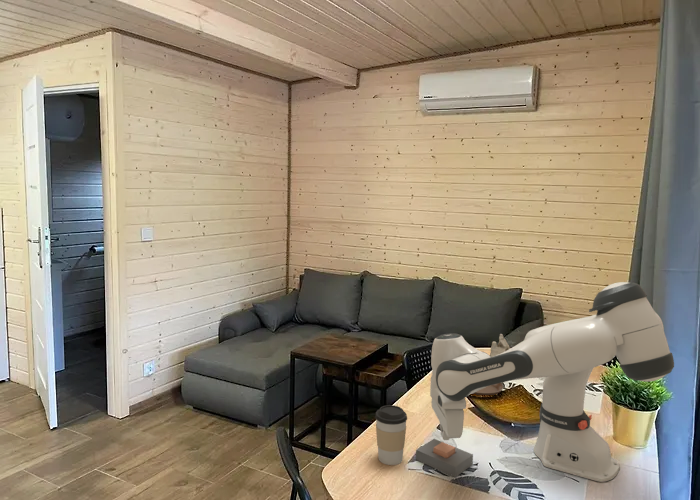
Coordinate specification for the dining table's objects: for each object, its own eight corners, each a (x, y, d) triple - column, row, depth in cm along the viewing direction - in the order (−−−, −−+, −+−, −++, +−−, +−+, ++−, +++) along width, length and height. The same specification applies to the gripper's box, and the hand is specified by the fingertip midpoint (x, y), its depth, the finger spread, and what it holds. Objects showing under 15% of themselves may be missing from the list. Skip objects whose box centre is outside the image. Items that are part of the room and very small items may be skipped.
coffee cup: (386, 447, 154) (387, 399, 152) (412, 457, 148) (413, 407, 146) (368, 459, 147) (368, 409, 145) (394, 470, 141) (395, 418, 139)
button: (455, 458, 146) (455, 447, 145) (446, 464, 142) (446, 453, 142) (441, 452, 149) (442, 441, 148) (433, 458, 145) (433, 447, 145)
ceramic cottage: (479, 370, 218) (483, 336, 216) (500, 362, 229) (504, 330, 227) (512, 383, 207) (517, 347, 205) (532, 374, 218) (537, 340, 216)
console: (472, 464, 144) (473, 454, 144) (455, 477, 138) (455, 467, 138) (433, 448, 153) (434, 438, 153) (415, 459, 147) (416, 449, 146)
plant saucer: (476, 379, 209) (477, 371, 209) (512, 393, 194) (513, 386, 194) (445, 388, 199) (445, 381, 199) (480, 404, 185) (481, 396, 184)
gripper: (427, 377, 153) (425, 421, 155) (444, 406, 133) (442, 456, 134) (447, 376, 153) (446, 420, 155) (468, 405, 133) (466, 456, 135)
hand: (444, 437), depth 145 cm, fingers closed
